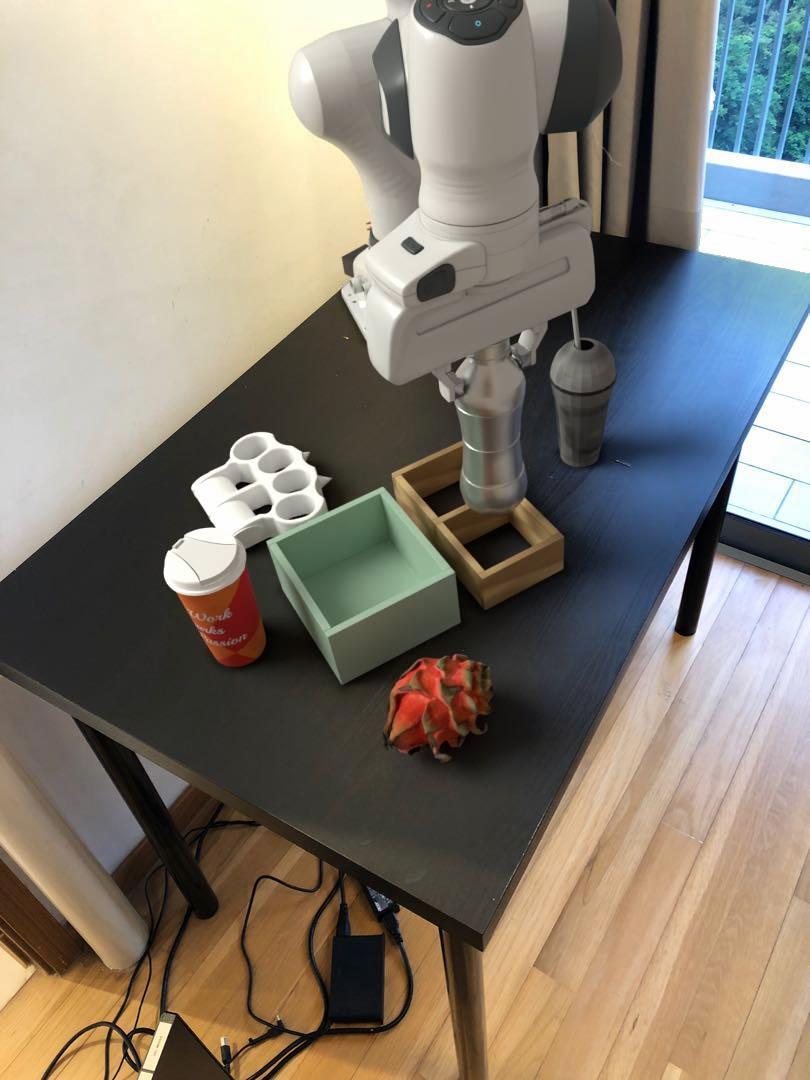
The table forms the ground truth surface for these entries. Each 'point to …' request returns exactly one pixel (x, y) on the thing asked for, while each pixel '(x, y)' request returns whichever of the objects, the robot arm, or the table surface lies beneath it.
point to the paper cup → (217, 594)
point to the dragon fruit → (437, 704)
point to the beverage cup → (581, 396)
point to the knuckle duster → (261, 489)
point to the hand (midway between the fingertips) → (488, 380)
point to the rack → (477, 531)
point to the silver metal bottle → (492, 430)
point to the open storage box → (365, 583)
